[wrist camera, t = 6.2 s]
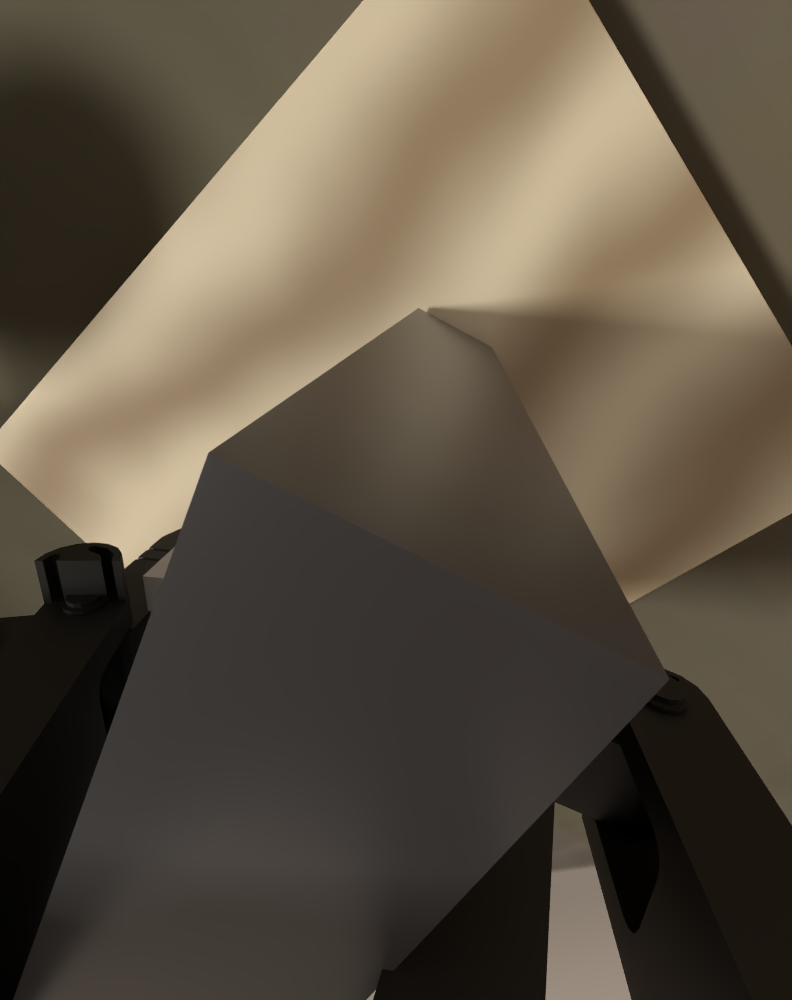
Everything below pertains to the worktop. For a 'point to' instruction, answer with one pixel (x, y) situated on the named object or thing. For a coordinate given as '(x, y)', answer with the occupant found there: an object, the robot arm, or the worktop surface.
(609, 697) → the gray square slab
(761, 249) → the worktop surface
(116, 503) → the beige flat board
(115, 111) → the worktop surface
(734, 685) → the worktop surface
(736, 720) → the worktop surface
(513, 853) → the robot arm
